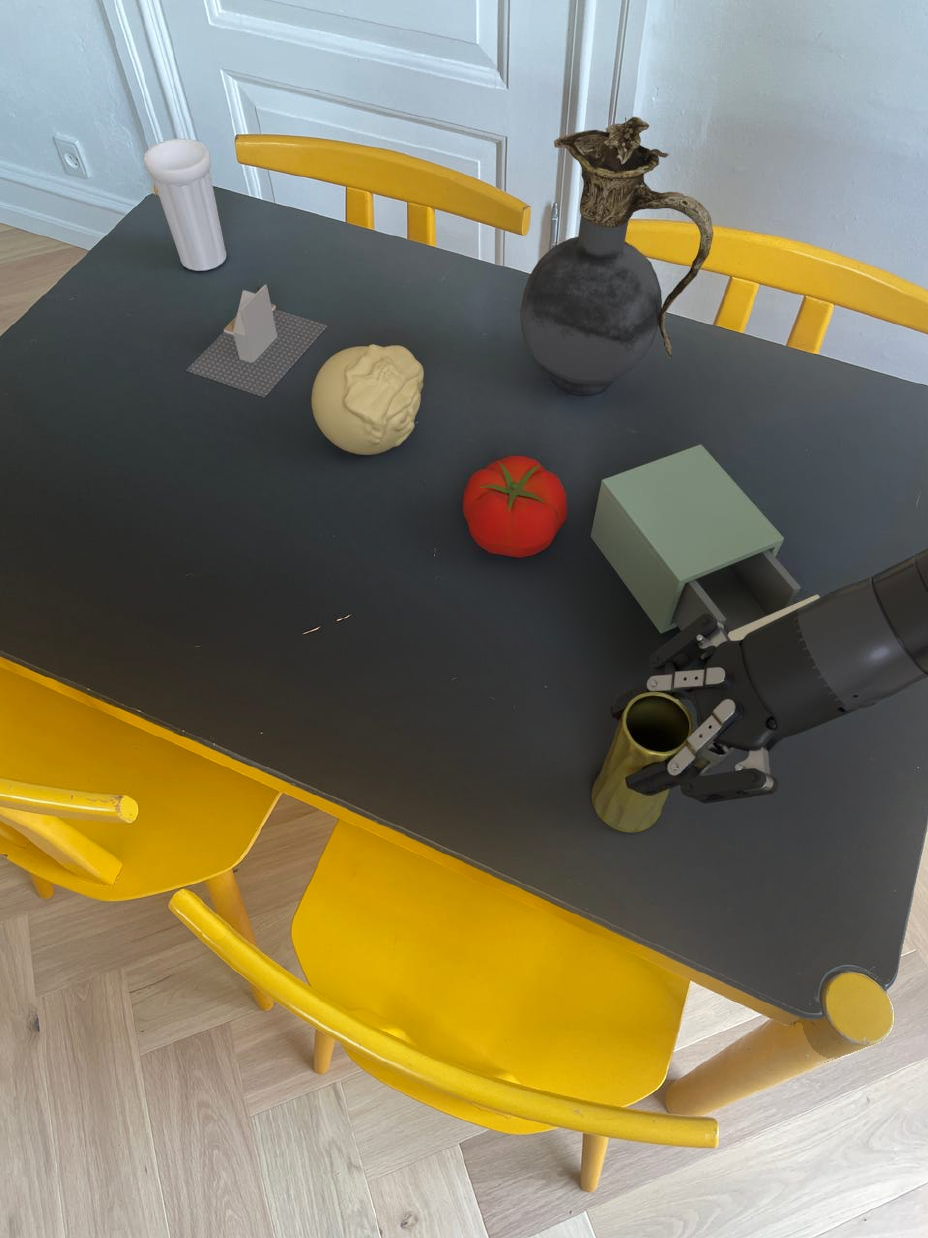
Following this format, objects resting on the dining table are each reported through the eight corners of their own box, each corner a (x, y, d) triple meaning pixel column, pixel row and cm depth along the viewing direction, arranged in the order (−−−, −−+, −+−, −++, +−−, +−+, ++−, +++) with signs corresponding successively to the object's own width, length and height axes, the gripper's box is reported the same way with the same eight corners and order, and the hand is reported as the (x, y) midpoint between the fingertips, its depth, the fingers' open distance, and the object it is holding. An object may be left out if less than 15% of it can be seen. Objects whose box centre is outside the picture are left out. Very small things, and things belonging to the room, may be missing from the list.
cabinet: (757, 593, 86) (784, 538, 79) (660, 633, 84) (679, 581, 76) (682, 501, 93) (701, 443, 86) (590, 536, 90) (601, 479, 83)
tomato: (511, 478, 95) (515, 427, 89) (583, 534, 91) (593, 485, 84) (439, 527, 91) (438, 477, 85) (511, 589, 86) (515, 541, 80)
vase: (585, 824, 73) (610, 750, 61) (596, 759, 76) (622, 678, 64) (657, 840, 72) (696, 769, 60) (665, 775, 75) (704, 695, 63)
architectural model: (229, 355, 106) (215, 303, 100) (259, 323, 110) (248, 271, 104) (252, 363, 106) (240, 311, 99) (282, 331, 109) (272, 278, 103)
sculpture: (390, 483, 95) (384, 408, 86) (299, 447, 98) (283, 370, 89) (439, 419, 100) (438, 342, 91) (351, 387, 103) (342, 309, 94)
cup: (193, 284, 114) (163, 179, 103) (163, 257, 118) (130, 151, 106) (245, 262, 117) (221, 156, 106) (214, 235, 121) (188, 131, 109)
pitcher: (537, 333, 109) (562, 77, 85) (681, 375, 105) (752, 120, 80) (503, 384, 104) (519, 127, 79) (654, 432, 99) (721, 176, 75)
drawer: (829, 679, 80) (857, 639, 74) (737, 721, 77) (759, 684, 72) (724, 552, 88) (742, 508, 83) (638, 586, 86) (651, 543, 80)
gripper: (773, 547, 58) (577, 655, 67) (847, 739, 50) (613, 831, 59) (822, 588, 63) (632, 683, 72) (896, 769, 55) (672, 850, 64)
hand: (625, 749), depth 65 cm, fingers closed on vase, 5 cm apart
